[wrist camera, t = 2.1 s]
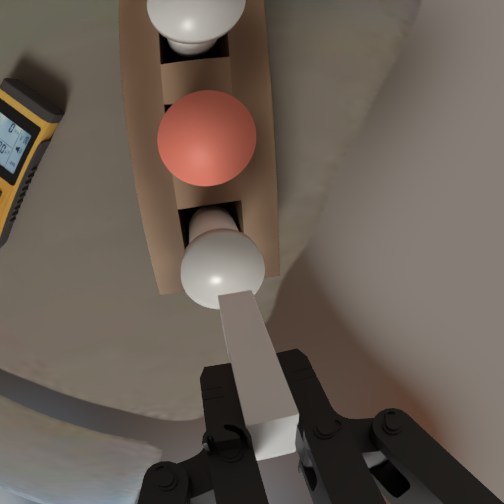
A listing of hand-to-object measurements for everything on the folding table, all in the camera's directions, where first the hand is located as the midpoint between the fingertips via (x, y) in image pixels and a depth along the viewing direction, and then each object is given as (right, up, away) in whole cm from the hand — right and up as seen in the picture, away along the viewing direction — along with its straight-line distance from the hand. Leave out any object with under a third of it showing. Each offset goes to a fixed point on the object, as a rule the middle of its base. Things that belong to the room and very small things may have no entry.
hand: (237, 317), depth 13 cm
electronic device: (-24, +12, +8) cm, 28 cm away
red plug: (-3, +12, +7) cm, 14 cm away
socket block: (-4, +14, +11) cm, 18 cm away
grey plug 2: (-3, +5, +10) cm, 11 cm away
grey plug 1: (-4, +18, +3) cm, 19 cm away
